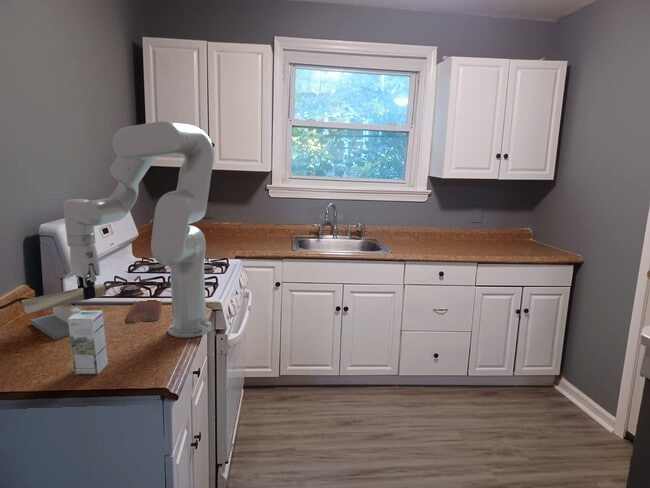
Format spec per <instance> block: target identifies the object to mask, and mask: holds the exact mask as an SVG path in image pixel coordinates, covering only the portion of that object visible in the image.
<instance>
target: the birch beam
mask: <svg viewBox="0 0 650 488" xmlns="http://www.w3.org/2000/svg"><path fill="white" fill-rule="evenodd" d="M106 295H107V293H106V285H105V284H103V283H97V284H95V296H96V297H95V298H99V297H105V296H106ZM95 298H94V299H95ZM82 301H86V300H85V299H84V293H83V288H78V287H77V288H74V289H69V290H64V291H60V292H56V293H50V294H45V295H41V296H37V297H32V298H27V299H22V300H21V306H22V312H23V313H25V314H26V315H28V314H31V313H36V312H39V311H44V310H48V309H53V307H58V306H62V305H66V304H70V305H72V304H74V303H75V304H76V303H78V302H82Z"/></svg>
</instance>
